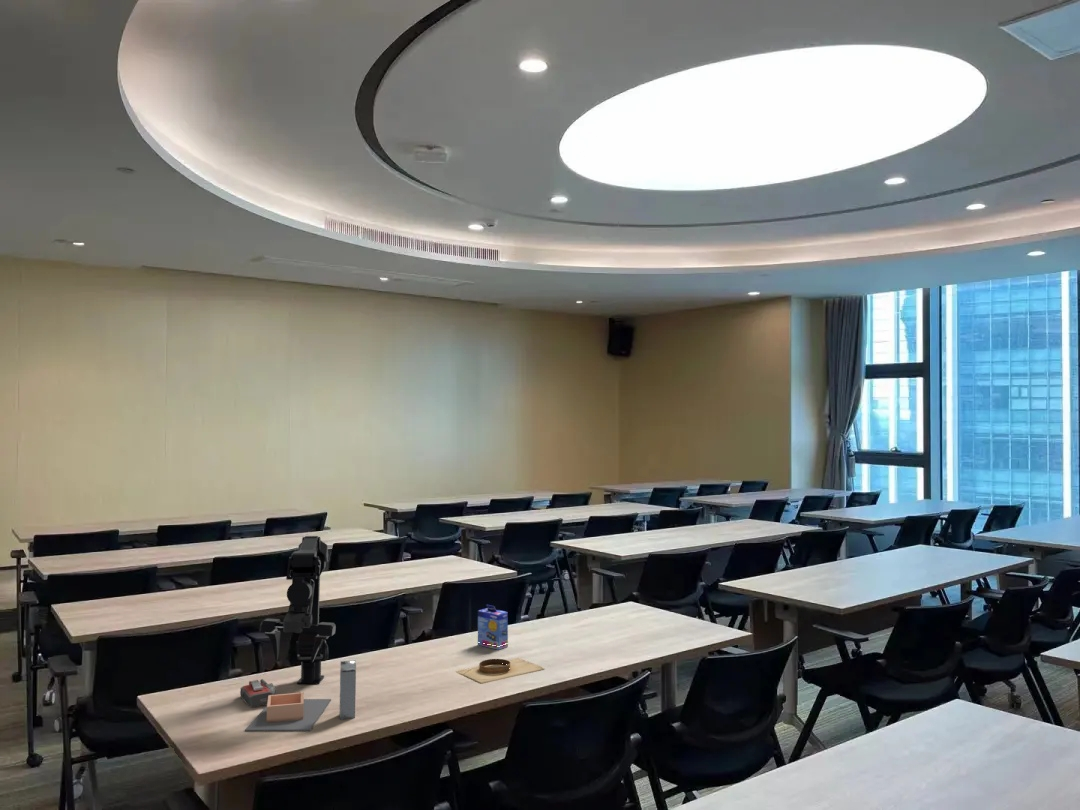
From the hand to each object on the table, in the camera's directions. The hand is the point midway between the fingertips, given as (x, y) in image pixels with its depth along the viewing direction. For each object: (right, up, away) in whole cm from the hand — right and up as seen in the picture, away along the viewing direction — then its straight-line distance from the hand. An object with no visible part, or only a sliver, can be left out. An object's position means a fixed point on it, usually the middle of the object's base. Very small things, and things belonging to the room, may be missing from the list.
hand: (294, 661), depth 203 cm
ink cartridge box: (+48, -17, +67) cm, 84 cm away
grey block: (+14, -14, -2) cm, 20 cm away
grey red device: (-14, -14, +13) cm, 24 cm away
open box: (-2, -13, -2) cm, 14 cm away
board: (+52, -17, +39) cm, 67 cm away
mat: (-1, -14, -1) cm, 14 cm away
